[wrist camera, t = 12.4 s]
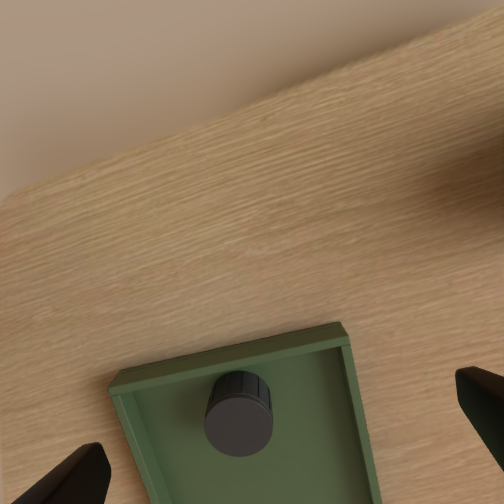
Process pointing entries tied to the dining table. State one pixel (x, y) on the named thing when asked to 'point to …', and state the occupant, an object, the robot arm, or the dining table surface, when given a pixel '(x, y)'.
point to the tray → (284, 425)
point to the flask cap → (239, 414)
